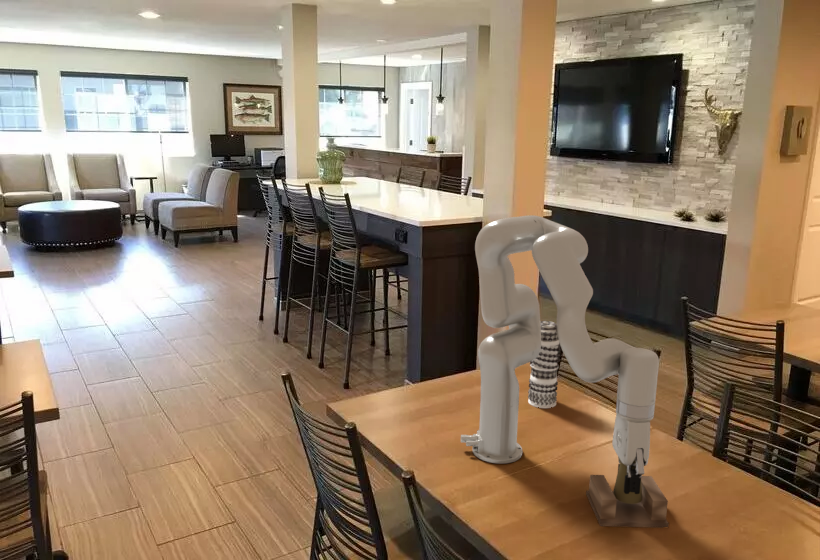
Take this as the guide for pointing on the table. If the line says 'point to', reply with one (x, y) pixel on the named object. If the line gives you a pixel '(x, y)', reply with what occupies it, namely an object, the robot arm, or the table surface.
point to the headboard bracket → (627, 505)
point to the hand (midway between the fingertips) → (628, 486)
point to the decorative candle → (545, 368)
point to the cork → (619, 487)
